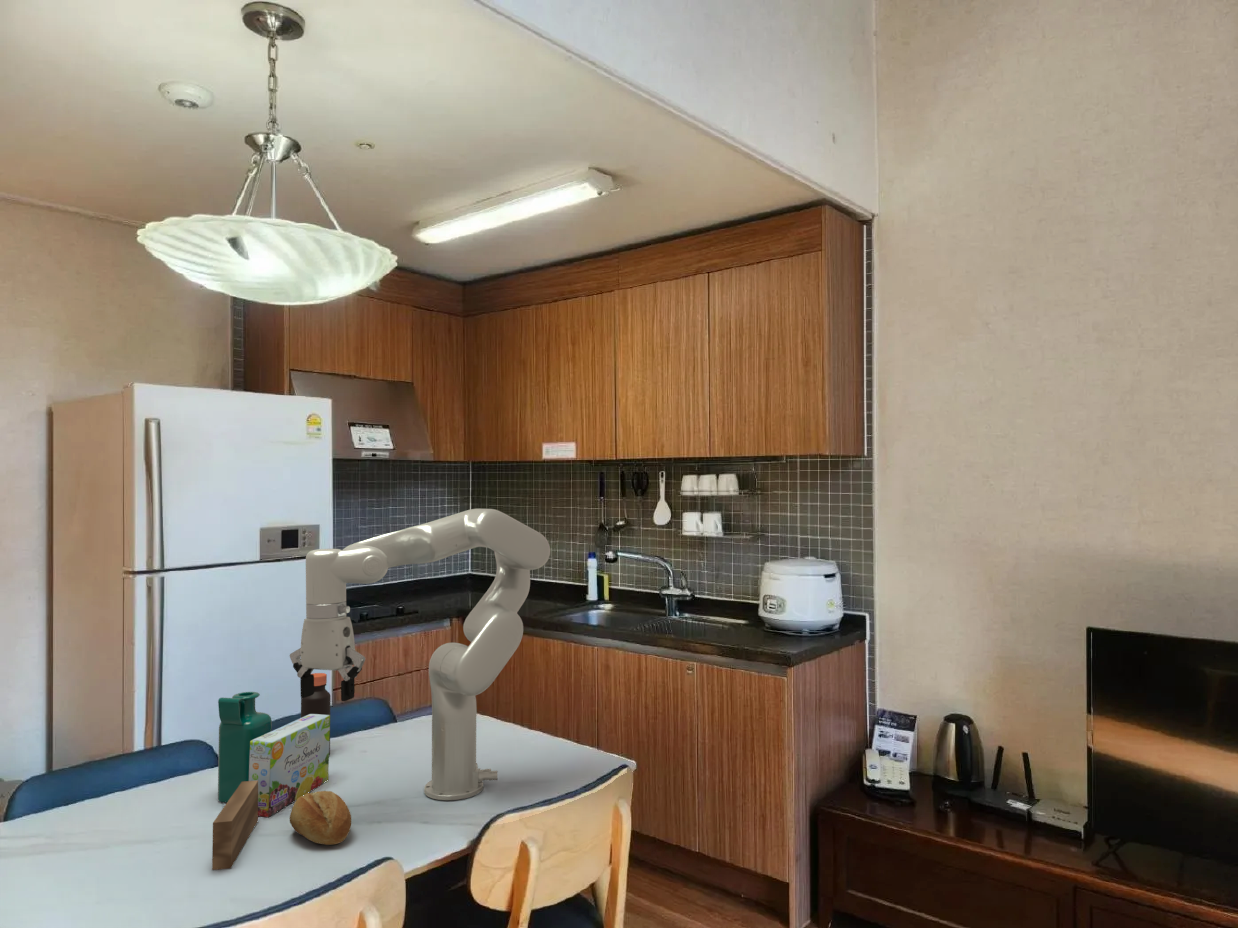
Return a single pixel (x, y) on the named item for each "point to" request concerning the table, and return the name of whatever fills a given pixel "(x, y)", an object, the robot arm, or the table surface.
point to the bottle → (317, 699)
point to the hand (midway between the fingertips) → (327, 697)
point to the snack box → (290, 762)
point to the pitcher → (237, 740)
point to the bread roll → (321, 817)
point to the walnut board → (234, 825)
